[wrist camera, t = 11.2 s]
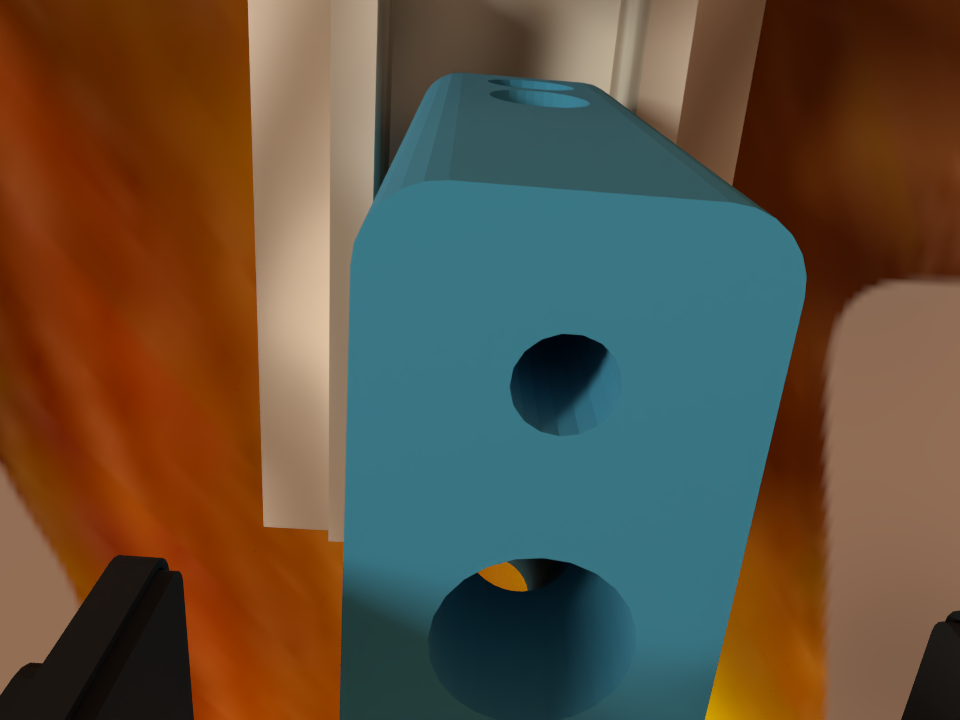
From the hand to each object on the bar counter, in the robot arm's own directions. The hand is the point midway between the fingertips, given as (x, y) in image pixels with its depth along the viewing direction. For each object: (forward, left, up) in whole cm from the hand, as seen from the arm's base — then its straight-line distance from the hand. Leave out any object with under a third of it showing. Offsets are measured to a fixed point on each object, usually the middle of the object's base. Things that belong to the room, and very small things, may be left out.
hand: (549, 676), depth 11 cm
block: (0, 0, -21) cm, 21 cm away
